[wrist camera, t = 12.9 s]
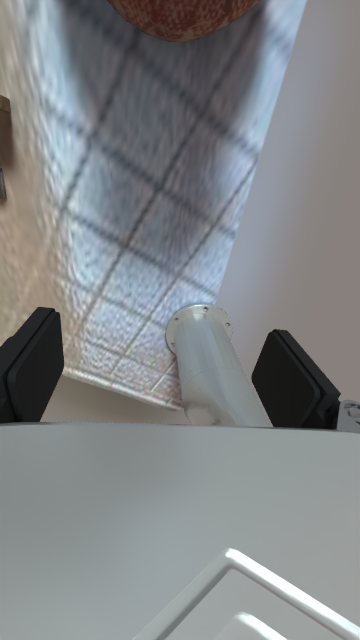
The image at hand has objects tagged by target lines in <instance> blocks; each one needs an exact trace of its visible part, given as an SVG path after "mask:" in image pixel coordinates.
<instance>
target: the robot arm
mask: <svg viewBox="0 0 360 640" xmlns="http://www.w3.org/2000/svg"><path fill="white" fill-rule="evenodd" d="M205 307H206V308H205ZM176 318H177V319H176ZM232 330H233V327H232V324H231V320H230V318H229V317H228V315H227V314H226V312H224V311H223V310H222V309H221V308H219V307H218V306H216V305H213V304H209V303H195V304H190V305H188V306H185V307H183V308H181V309H180V310H178V311H177V312H176V313H175V314H174V315H173V316H172V317H171V319H170V320H169V322H168V324H167V328H166V341H167V344H168V346H169V348H170V350H171V351H172V352H173V353H174V354H176V355H177V362H178V370H179V378H180V386H181V394H182V401H183V408H184V411H185V414H186V416H187V418H188V420H189V421H190V423H191V424H192V425H186V424H185V425H183V424H144V423H97V422H40V419H41V417H42V415H43V413H44V411H45V409H46V407H47V404H48V402H49V400H50V398H51V396H52V393H53V391H54V389H55V387H56V385H57V382H58V380H59V378H60V376H61V374H62V371H63V368H64V356H63V344H62V332H61V320H60V313H59V312H55V309H54V308H46V307H38V308H37V309H36V310H35V311H34V312H33V313H32V315H31V316H30V317H29V318H28V319H27V320H26V322H25V323H24V324H23V325H22V326H21V327H20V329H19V330H18V331H17V332H16V333H15V334H14V336H12V337H9V338H8V339H7V340H6V341H5V342H4V343H3V345H2V346H1V347H0V640H360V403H358V402H356V401H352V400H344V401H342V402H341V403H340V401H339V400H338V398H339V396H340V394H341V393H340V392H339V391H338V390H337V389H336V388H335V386H334V385H333V384H332V383H331V382H330V380H329V379H328V378H327V377H326V376H325V374H324V373H323V372H322V371H321V370H320V369H319V367H318V366H317V365H316V364H315V363H314V361H313V360H312V359H311V358H310V357H309V356H308V355H307V353H306V352H305V351H304V350H303V348H302V347H301V346H300V345H299V344H298V343H297V341H296V340H295V339H294V338H293V337H292V335H291V334H290V333H289V332H288V331H286V330H277V329H274V330H273V331H272V332H270V333H269V334H268V336H267V338H266V341H265V344H264V346H263V348H262V351H261V353H260V356H259V358H258V361H257V363H256V366H255V368H254V371H253V373H252V383H253V385H254V387H255V389H256V391H257V393H258V395H259V398H260V400H261V402H262V404H263V406H264V408H265V410H266V412H267V414H268V417H269V419H270V421H271V422H270V421H269V419H268V417H267V416H266V414H265V412H264V411H263V409H262V407H261V405H260V403H259V401H258V399H257V397H256V395H255V393H254V391H253V389H252V387H251V384H250V382H249V381H248V378H247V376H246V373H245V371H244V369H243V367H242V365H241V363H240V360H239V358H238V356H237V354H236V352H235V350H234V347H233V345H232V343H231V341H230V340H231V337H232V333H233V331H232ZM271 423H272V424H271Z"/></svg>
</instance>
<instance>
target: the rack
mask: <svg viewBox="0 0 360 640" xmlns="http://www.w3.org/2000/svg"><path fill="white" fill-rule="evenodd" d="M0 110H2V111H6V112H11V111H10V103H9V99H7V98H6V97H4V96H2V95H0ZM0 197H1V198H6V191H5V185H4V179H3V173H2V168H0Z"/></svg>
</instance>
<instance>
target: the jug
mask: <svg viewBox="0 0 360 640" xmlns="http://www.w3.org/2000/svg"><path fill="white" fill-rule="evenodd" d="M107 1H108V2H109V3H110V4H111V5H112V6H113V7H114V8H115V9H116V10H117V11H118V12H119V14H120V15H121V16H122V17H123V18H124V19H125V20H127V21H128V22H130V23H131V24H133V25H134V26H136V27H137V28H139V29H140V30H142V31H143V32H145V33H146V34H148V35H151V36H154V37H157V38H160V39H163V40H166V41H171V42H187V41H192V40H196V39H200V38H202V37H204V36H206V35H208V34H211V33H213V32H215V31H217V30H219V29H221V28H223V27H225V26H227V25H228V24H230V23H232V22H233V21H235V20H237V19H238V18H240V17H241V16H242V15H244V14H245V13H246V12H247V11H249V10H250V9H251V8H252V7H254V6H255V5H256V3H257V2H258V1H259V0H107Z"/></svg>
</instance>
